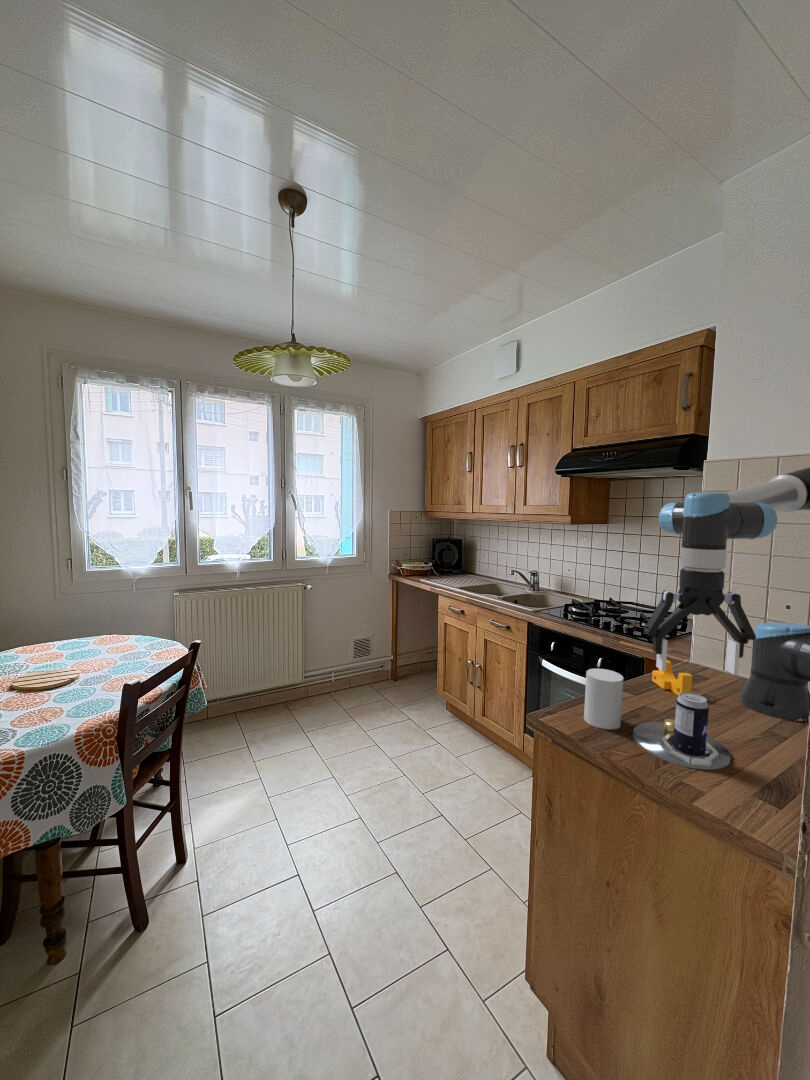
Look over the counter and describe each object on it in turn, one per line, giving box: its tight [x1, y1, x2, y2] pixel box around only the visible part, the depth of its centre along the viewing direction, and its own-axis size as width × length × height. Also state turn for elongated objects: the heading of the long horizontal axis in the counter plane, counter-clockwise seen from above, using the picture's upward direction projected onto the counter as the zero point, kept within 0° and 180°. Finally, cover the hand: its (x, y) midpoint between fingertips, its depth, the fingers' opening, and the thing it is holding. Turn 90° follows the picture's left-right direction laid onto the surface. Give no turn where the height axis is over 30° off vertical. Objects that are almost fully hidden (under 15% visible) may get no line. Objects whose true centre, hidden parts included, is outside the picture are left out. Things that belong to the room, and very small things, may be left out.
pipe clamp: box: [651, 659, 693, 697], centre depth 128 cm, size 12×4×6 cm, turn 178°
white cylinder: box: [583, 668, 624, 730], centre depth 106 cm, size 8×8×12 cm
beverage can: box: [673, 692, 710, 757], centre depth 92 cm, size 6×6×12 cm
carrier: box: [632, 718, 732, 771], centre depth 96 cm, size 18×18×4 cm
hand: (696, 670), depth 91 cm, fingers open, 13 cm apart
